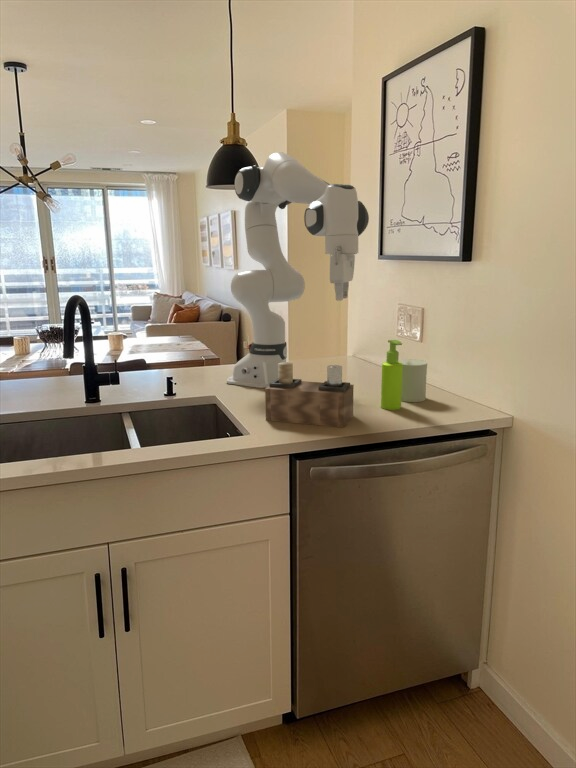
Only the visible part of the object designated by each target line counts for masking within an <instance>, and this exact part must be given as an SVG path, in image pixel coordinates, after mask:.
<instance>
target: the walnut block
mask: <svg viewBox="0 0 576 768" xmlns="http://www.w3.org/2000/svg"><path fill="white" fill-rule="evenodd" d="M264 388H265V389H264V391H265V392H264V394H265V399H264V401H265V402H264V403H265V421H269V422H270V421H272V422H283V423H292V424H293V423H294V424H303V425H313V426H322V427H323V426H325V427H334V426H335V427H336V428H345V427H346V425H347V424H348V423H349V421H351V419H352V418H353V417H354V384H351V382H346V381H345V382H344V381H342V387H327V380H325V381H324V382H319V381H304V380H302V379H301V378H300V379H299V378H293V383H292V384H284V383H279V380H278V378H277V379H276V380H274V381H272V382H271V383H269V386H268V387H264Z"/></svg>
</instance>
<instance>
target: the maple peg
mask: <svg viewBox="0 0 576 768" xmlns="http://www.w3.org/2000/svg"><path fill="white" fill-rule="evenodd" d="M293 365H294V363H292V362H289V361H288V362H287V361H286V362H283V363H278V380H279V383H284V384H292V383H293V379H294V375H293V374H294V372H293V371H294V369H293V368H294V366H293Z"/></svg>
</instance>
